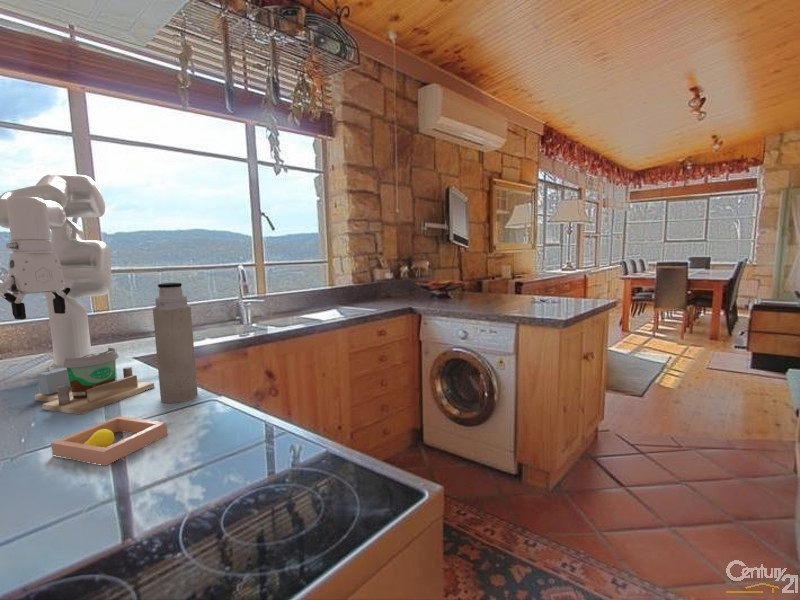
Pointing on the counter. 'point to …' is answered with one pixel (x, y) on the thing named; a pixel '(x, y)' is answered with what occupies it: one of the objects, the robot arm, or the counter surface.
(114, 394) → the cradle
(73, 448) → the pink square frame
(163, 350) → the thermos bottle
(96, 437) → the light bulb
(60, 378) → the block
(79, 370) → the food container
